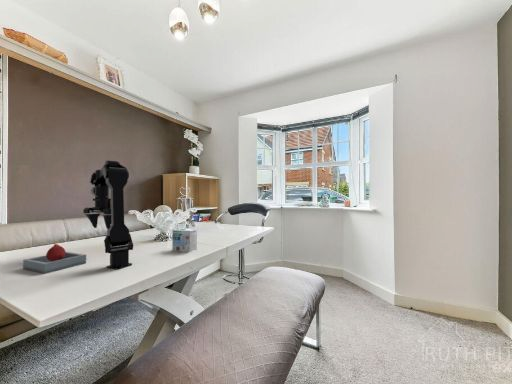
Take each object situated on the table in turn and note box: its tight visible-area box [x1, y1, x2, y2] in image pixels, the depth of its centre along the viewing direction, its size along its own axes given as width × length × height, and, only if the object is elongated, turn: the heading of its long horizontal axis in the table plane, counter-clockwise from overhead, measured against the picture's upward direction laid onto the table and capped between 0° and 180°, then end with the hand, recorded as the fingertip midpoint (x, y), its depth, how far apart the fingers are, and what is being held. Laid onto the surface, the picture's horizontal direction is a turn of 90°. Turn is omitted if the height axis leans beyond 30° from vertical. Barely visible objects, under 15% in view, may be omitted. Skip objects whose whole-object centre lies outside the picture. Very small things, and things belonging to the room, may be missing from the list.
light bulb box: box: [171, 227, 198, 253], centre depth 119 cm, size 11×7×11 cm, turn 73°
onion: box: [45, 242, 66, 262], centre depth 92 cm, size 6×6×8 cm
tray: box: [22, 251, 87, 275], centre depth 91 cm, size 14×14×4 cm
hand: (101, 228), depth 113 cm, fingers open, 9 cm apart
